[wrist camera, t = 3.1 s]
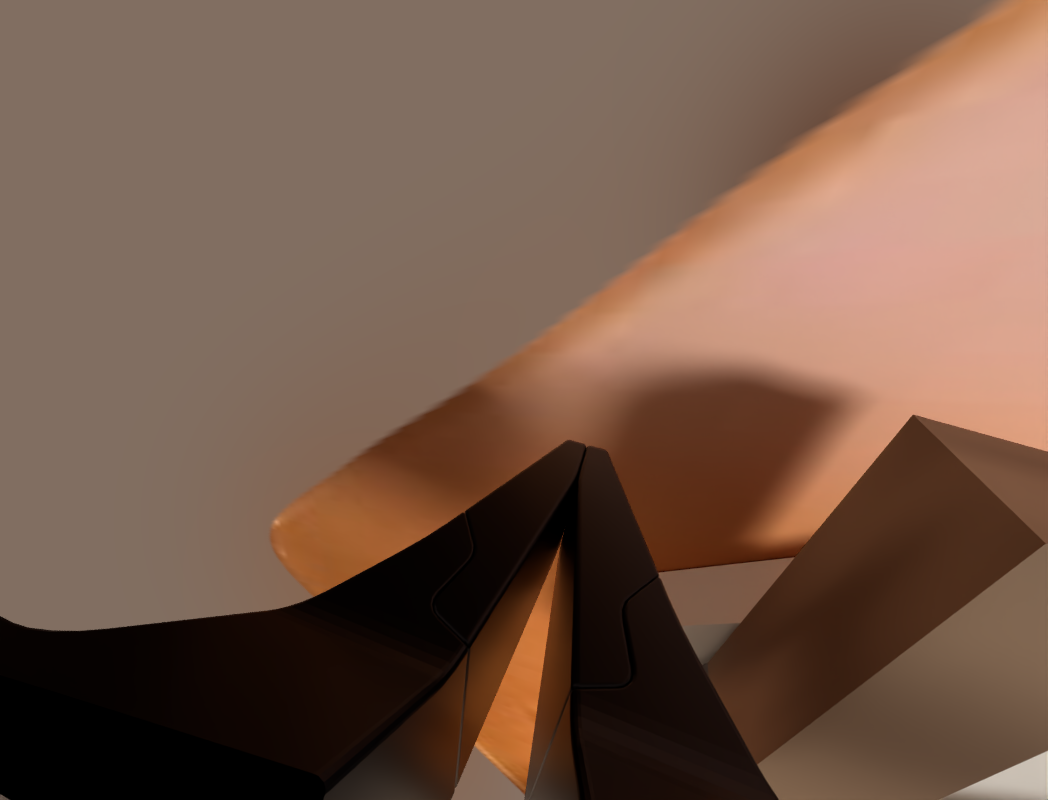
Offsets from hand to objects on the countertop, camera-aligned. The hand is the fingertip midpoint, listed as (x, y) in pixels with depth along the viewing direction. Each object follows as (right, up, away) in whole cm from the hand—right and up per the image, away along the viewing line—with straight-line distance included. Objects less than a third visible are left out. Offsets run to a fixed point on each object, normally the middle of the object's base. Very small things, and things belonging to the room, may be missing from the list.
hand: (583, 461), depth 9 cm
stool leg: (+6, -4, +1) cm, 7 cm away
